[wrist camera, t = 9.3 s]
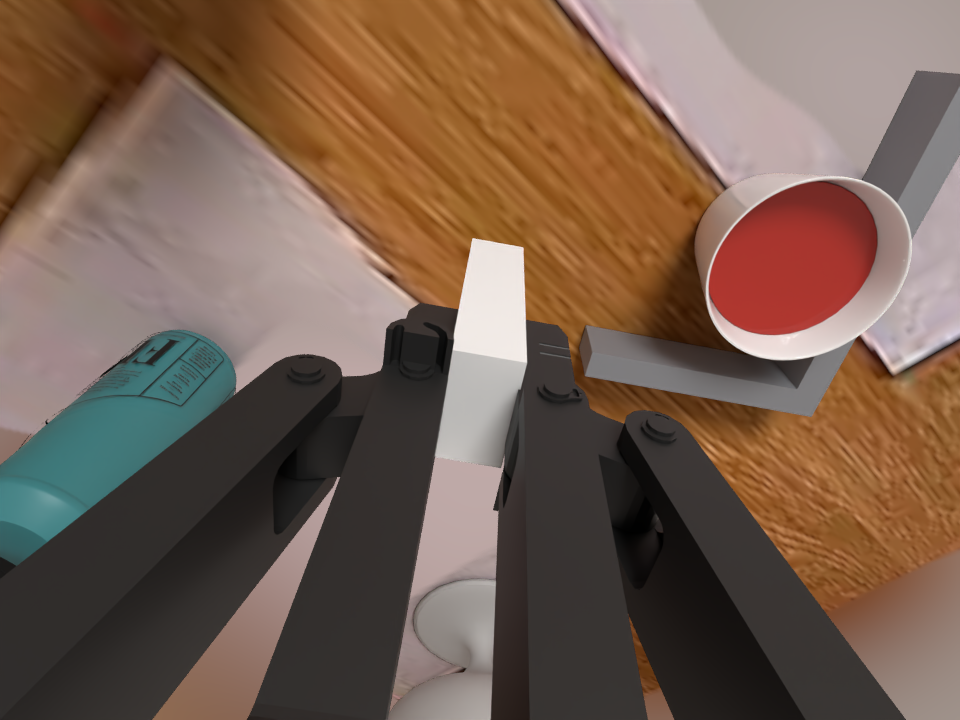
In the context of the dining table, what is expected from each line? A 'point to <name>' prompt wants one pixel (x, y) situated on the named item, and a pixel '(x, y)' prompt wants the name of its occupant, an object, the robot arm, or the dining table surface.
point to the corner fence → (802, 383)
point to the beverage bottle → (108, 437)
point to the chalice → (455, 653)
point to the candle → (800, 262)
